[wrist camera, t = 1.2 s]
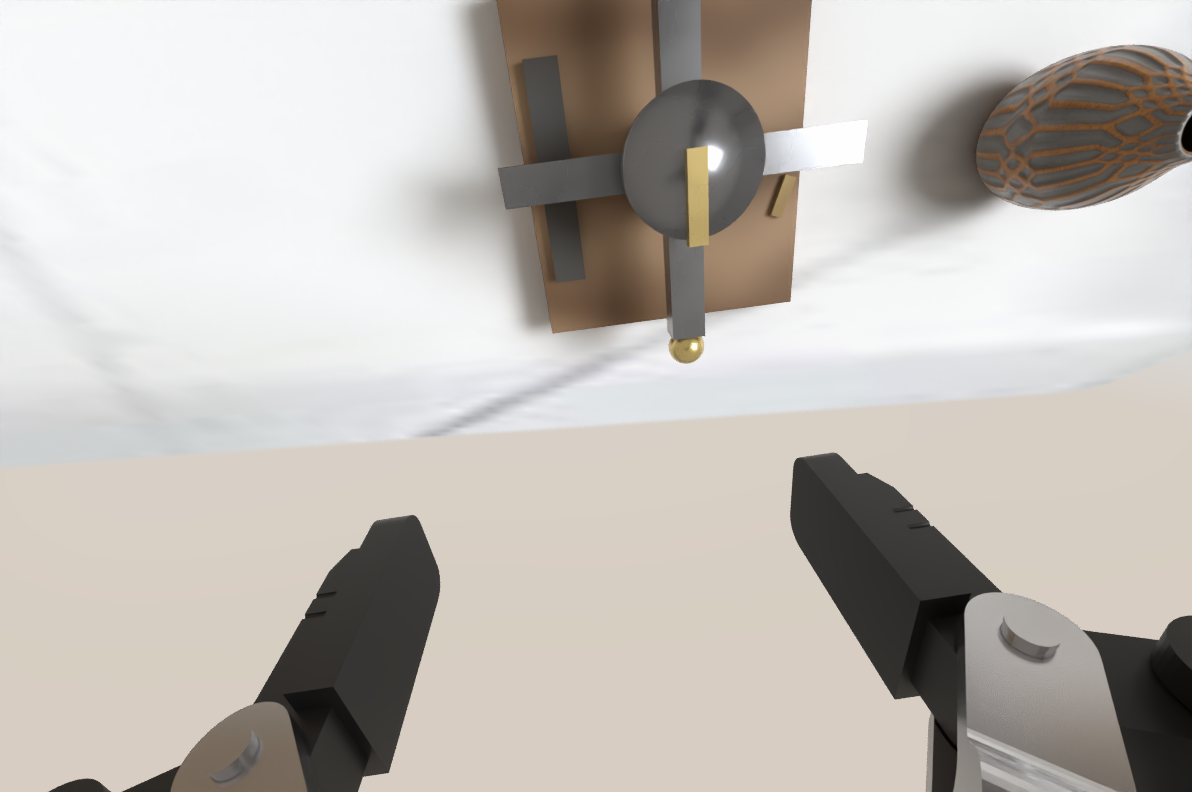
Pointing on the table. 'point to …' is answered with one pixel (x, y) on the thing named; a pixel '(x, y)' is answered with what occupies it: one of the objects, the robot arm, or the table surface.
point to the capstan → (686, 165)
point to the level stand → (600, 125)
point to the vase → (1089, 128)
